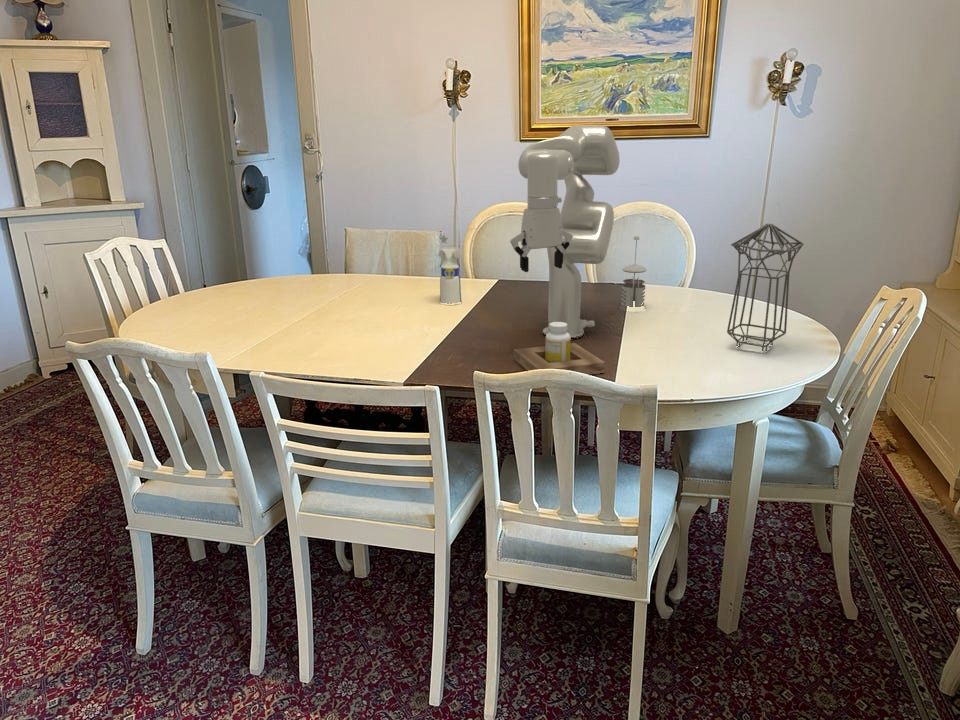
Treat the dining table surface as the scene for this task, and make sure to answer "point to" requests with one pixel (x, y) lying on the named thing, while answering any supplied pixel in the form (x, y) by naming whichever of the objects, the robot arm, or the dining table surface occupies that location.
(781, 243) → the geometric lantern
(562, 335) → the pill bottle
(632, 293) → the french press
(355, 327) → the dining table surface
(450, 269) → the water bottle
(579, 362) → the board with square hole
